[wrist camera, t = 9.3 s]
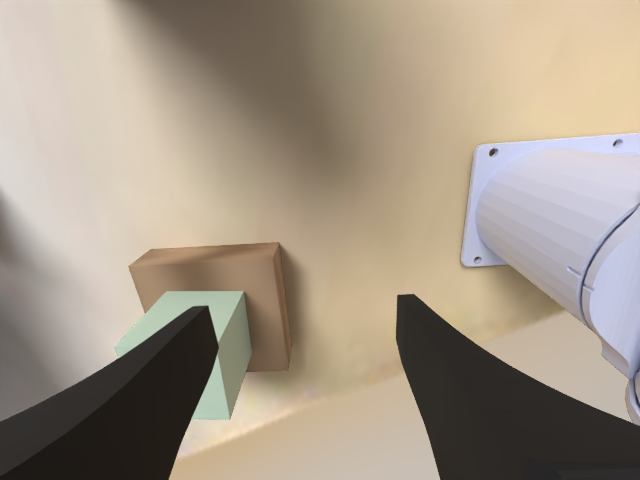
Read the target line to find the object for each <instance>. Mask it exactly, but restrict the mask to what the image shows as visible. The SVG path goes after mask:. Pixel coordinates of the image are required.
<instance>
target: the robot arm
mask: <svg viewBox="0 0 640 480" xmlns="http://www.w3.org/2000/svg"><path fill="white" fill-rule="evenodd" d="M616 140H617V142H616V145H615V146H614V147H613V144H614V142H615V141H616ZM493 148H494V149H495V153H494V154H493V155H492V156H489V152H490V150H491V149H493ZM476 257H479V259H478V260H476V261H474V259H475V258H476ZM461 262H462V263H463V265H465V266H467V267H473V266H491V265H508V264H509V265H510V266H512V267H513V268H514V269H515V270H517V271H518V272H519V273H520V274H522V275H523V276H524V277H525V278H527V279H528V280H529V281H530V282H532V283H533V284H534V285H535V286H537V287H538V288H539V289H541V290H542V291H543V292H544V293H546V294H547V295H548V296H549V297H551V298H552V299H553V300H554V301H556V302H557V303H558V304H559V305H561V306H562V307H563V308H564V309H566V310H567V311H568V312H569V313H571V314H572V315H573V316H575V317H576V318H577V319H578V320H580V321H581V322H582V323H583V324H584V325H586V326H587V327H588V328H590V329H591V330H592V331H593V332H595V333H596V334H597V336H598V337H599V338H600V340H601V342H602V346H603V350H602V356H603V357H604V358H605V359H606V360H607V361H608V362H610V363H611V364H612V365H613V366H614V367H615V368H617V369H618V370H619V371H620V372H621V373H622V374H624V375H625V376H626V377H627V378H628V379H630V380H629V382H628V384H627V387H626V395H625V401H626V405H627V410H628V413H629V415H630V417H631V419H632V421H633V423H631V422H629V421H626V420H623V419H621V418H618V417H616V416H613V415H611V414H609V413H606V412H603V411H601V410H599V409H596V408H594V407H592V406H590V405H587V404H585V403H583V402H581V401H578V400H576V399H574V398H572V397H570V396H567V395H565V394H563V393H561V392H559V391H557V390H555V389H553V388H551V387H549V386H547V385H545V384H543V383H541V382H539V381H537V380H535V379H534V378H532V377H530V376H528V375H526V374H524V373H522V372H520V371H519V370H517V369H515V368H513V367H512V366H510V365H508V364H506V363H505V362H503V361H501V360H500V359H498V358H497V357H495V356H494V355H492V354H490V353H489V352H487V351H486V350H484V349H483V348H481V347H480V346H478V345H477V344H475V343H474V342H473V341H471V340H470V339H468V338H467V337H466V336H464V335H463V334H461V333H460V332H459V331H458V330H456V329H455V328H454V327H452V326H451V325H450V324H449V323H447V322H446V321H445V320H444V319H442V318H441V317H440V316H439V315H438V314H436V313H435V312H434V311H433V310H432V309H431V308H429V307H428V306H427V305H426V304H425V303H424V302H423V301H421V300H420V299H419V298H418V297H417V296H416V295H414V294H407V295H397V324H396V341H397V345H398V349H399V354H400V358H401V362H402V365H403V368H404V371H405V373H406V376H407V379H408V381H409V384H410V387H411V389H412V392H413V395H414V397H415V400H416V403H417V405H418V408H419V410H420V413H421V416H422V418H423V421H424V424H425V427H426V430H427V433H428V436H429V440H430V443H431V447H432V450H433V454H434V458H435V461H436V465H437V468H438V472H439V476H440V480H640V133H626V134H613V135H599V136H585V137H572V138H558V139H545V140H531V141H517V142H504V143H490V144H481V145H479V146H478V147H476V149H475V150H474V154H473V162H472V170H471V178H470V186H469V194H468V203H467V211H466V219H465V227H464V235H463V243H462V251H461ZM218 350H219V345H218V341H217V337H216V333H215V329H214V326H213V322H212V318H211V314H210V310H209V306H208V305H206V306H192V307H191V308H189V309H187V310H186V311H185V312H183V313H182V314H180V315H179V316H177V317H176V318H175V319H173V320H172V321H171V322H169V323H168V324H167V325H165V326H164V327H162V328H161V329H160V330H158V331H157V332H156V333H154V334H153V335H152V336H150V337H149V338H147V339H146V340H145V341H143V342H142V343H140V344H139V345H137V346H136V347H134V348H133V349H131V350H130V351H129V352H127V353H126V354H124V355H123V356H121V357H120V358H118V359H117V360H115V361H114V362H112V363H111V364H109V365H107V366H106V367H104V368H103V369H101V370H99V371H98V372H96V373H94V374H92V375H91V376H89V377H87V378H86V379H84V380H82V381H81V382H79V383H77V384H75V385H73V386H71V387H70V388H68V389H66V390H64V391H62V392H60V393H58V394H56V395H54V396H52V397H50V398H49V399H47V400H45V401H43V402H41V403H39V404H37V405H35V406H33V407H31V408H29V409H27V410H25V411H23V412H20V413H18V414H16V415H14V416H12V417H10V418H8V419H5V420H3V421H1V422H0V480H169V477H170V474H171V471H172V468H173V465H174V462H175V459H176V456H177V453H178V450H179V447H180V445H181V442H182V440H183V437H184V435H185V432H186V430H187V428H188V425H189V423H190V421H191V419H192V416H193V414H194V412H195V410H196V407H197V405H198V403H199V401H200V399H201V396H202V394H203V392H204V389H205V387H206V385H207V383H208V380H209V378H210V376H211V373H212V370H213V367H214V364H215V361H216V357H217V353H218Z"/></svg>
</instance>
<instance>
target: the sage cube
mask: <svg viewBox="0 0 640 480" xmlns="http://www.w3.org/2000/svg"><path fill="white" fill-rule="evenodd" d="M206 305H208V306H209V310H210V314H211V318H212V322H213V326H214V329H215V333H216V337H217V341H218V345H219V350H218V353H217V357H216V361H215V364H214V367H213V370H212V373H211V376H210V378H209V380H208V383H207V385H206V387H205V389H204V392H203V394H202V396H201V399H200V401H199V403H198V405H197V407H196V410H195V412H194V414H193V416H192V419H199V420H230V418H231V415H232V412H233V409H234V406H235V403H236V400H237V397H238V394H239V391H240V388H241V385H242V382H243V379H244V376H245V372H246V369H247V366H248V363H249V360H250V357H251V354H252V349H251V342H250V334H249V327H248V319H247V312H246V304H245V297H244V291H166V292H165V293H164V294H163V295H162V296H161V297H160V299H159V300H158V301H157V302H156V303H155V304H154V305H153V306H152V307H151V308H150V309H149V310H148V311H147V312H146V313H145V314H144V315H143V317H142V318H141V319H140V320H139V321H138V322H137V323H136V324H135V325H134V326H133V327H132V328H131V329H130V330H129V331H128V332H127V333H126V335H125V336H124V337H123V338H122V339H121V340H120V341H119V342H118V343H117V344H116V345H115V346H114V348H115V351H116V353H117V356H118V358H120V357H121V356H123V355H124V354H126V353H127V352H129V351H130V350H131V349H133V348H134V347H136V346H137V345H139V344H140V343H142V342H143V341H145V340H146V339H147V338H149V337H150V336H152V335H153V334H154V333H156V332H157V331H158V330H160V329H161V328H162V327H164V326H165V325H167V324H168V323H169V322H171V321H172V320H173V319H175V318H176V317H177V316H179V315H180V314H182V313H183V312H185V311H186V310H187V309H189V308H191V307H192V306H206Z"/></svg>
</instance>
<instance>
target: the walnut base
mask: <svg viewBox="0 0 640 480" xmlns="http://www.w3.org/2000/svg"><path fill="white" fill-rule="evenodd" d="M128 267H129V270H130V273H131V275H132V278H133V281H134V284H135V287H136V289H137V292H138V295H139V298H140V301H141V304H142V306H143V309H144V312H145V313H146V312H147V311H148V310H149V309H150V308H151V307H152V306H153V305H154V304H155V303H156V302H157V301H158V300H159V299H160V297H161V296H162V295H163V294H164V293H165V292H166V291H244V297H245V304H246V312H247V319H248V327H249V334H250V342H251V349H252V354H251V357H250V360H249V363H248V366H247V369H246V372H255V371H282V370H288V368H289V361H290V354H291V347H292V343H291V335H290V327H289V319H288V312H287V304H286V296H285V288H284V280H283V272H282V265H281V257H280V249H279V242H277V243H258V244H240V245H221V246H203V247H185V248H166V249H150V250H149V251H148V252H147V253H145V254H144V255H143V256H141V257H140V258H139V259H137V260H136V261H135V262H134V263H132V264H131V265H130V266H128Z"/></svg>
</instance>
